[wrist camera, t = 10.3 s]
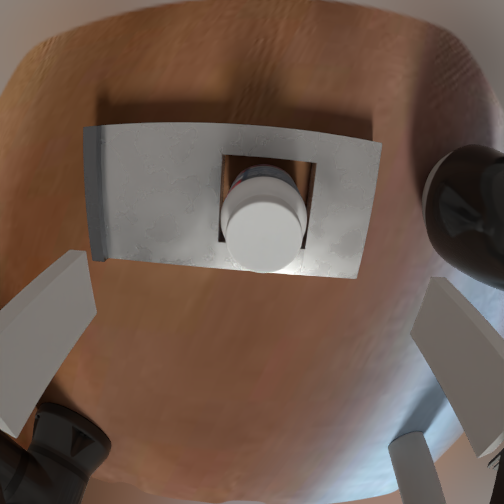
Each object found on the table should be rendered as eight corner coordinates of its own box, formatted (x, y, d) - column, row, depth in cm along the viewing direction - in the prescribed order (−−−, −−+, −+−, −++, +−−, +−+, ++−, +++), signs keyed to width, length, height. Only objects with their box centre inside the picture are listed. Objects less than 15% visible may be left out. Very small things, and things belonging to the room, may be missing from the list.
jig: (106, 247, 26) (92, 260, 23) (100, 125, 21) (83, 127, 19) (350, 267, 26) (358, 283, 23) (372, 141, 21) (386, 144, 19)
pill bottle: (235, 158, 22) (220, 177, 14) (302, 170, 23) (326, 197, 14) (225, 222, 25) (207, 274, 16) (289, 233, 25) (302, 290, 17)
